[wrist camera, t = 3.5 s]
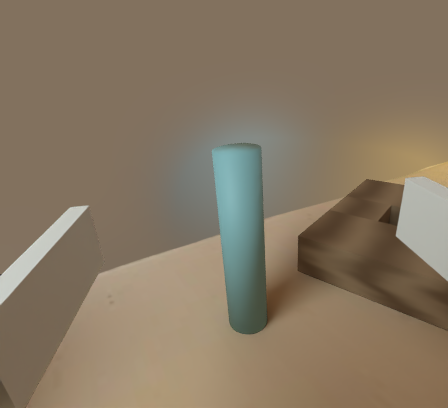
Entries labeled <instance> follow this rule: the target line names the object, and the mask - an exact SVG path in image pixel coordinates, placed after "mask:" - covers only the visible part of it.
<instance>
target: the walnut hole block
mask: <svg viewBox="0 0 448 408" xmlns="http://www.w3.org/2000/svg"><path fill="white" fill-rule="evenodd" d="M403 191H404V185H400V184H394V183H388V182H381V181H375V180H369V179H366V180H365V181H364V182H363V183H362V184H360V185H359V186H358V187H357V188H356V189H354V190H353V191H352V192H351V193H350V194H348V195H347V196H346V197H345V198H343V199H342V200H341V201H340V202H339V203H337V204H336V205H335V206H334V207H333V208H331V209H330V210H329V211H328V212H327V213H325V214H324V215H323V216H322V217H320V218H319V219H318V220H317V221H316V222H314V223H313V224H312V225H311V226H310V227H308V228H307V229H306V230H305V231H304V232H302V233H301V234H300V235H299V236H298V271H300V272H302V273H305V274H307V275H310V276H312V277H315V278H317V279H320V280H322V281H325V282H327V283H330V284H332V285H335V286H337V287H340V288H342V289H345V290H347V291H350V292H352V293H355V294H357V295H360V296H362V297H365V298H367V299H370V300H372V301H375V302H377V303H380V304H382V305H385V306H387V307H390V308H392V309H395V310H397V311H400V312H402V313H405V314H407V315H410V316H412V317H415V318H418V319H420V320H423V321H425V322H428V323H430V324H433V325H435V326H438V327H440V328H443V329H445V330H448V281H447V280H446V279H445V278H443V277H442V276H441V275H440V274H439V273H438V272H436V271H435V270H434V269H433V268H432V267H431V266H430V265H428V264H427V263H426V262H425V261H424V260H423V259H422V258H420V257H419V256H418V255H417V254H416V253H415V252H414V251H412V250H411V249H410V248H409V247H408V246H407V245H406V244H404V243H403V242H402V241H401V240H400V239H399V238H397V237H396V231H397V226H398V220H399V214H400V208H401V203H402V197H403Z"/></svg>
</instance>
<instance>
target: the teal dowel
mask: <svg viewBox="0 0 448 408" xmlns="http://www.w3.org/2000/svg"><path fill="white" fill-rule="evenodd" d="M212 156H213V166H214V175H215V185H216V195H217V205H218V215H219V225H220V235H221V244H222V254H223V264H224V274H225V284H226V293H227V303H228V313H229V322H230V325H231V327H232V328H233V329H234V330H235V331H237V332H239V333H242V334H254V333H257V332H259V331H261V330H262V329H263V328H264V327H265V326H266V324H267V299H266V271H265V242H264V217H263V216H264V214H263V186H262V157H261V147H260V146H259V145H256V144H249V143H237V144H228V145H223V146H220V147H217V148H215V149H213V150H212Z"/></svg>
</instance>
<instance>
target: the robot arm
mask: <svg viewBox="0 0 448 408" xmlns="http://www.w3.org/2000/svg"><path fill="white" fill-rule="evenodd" d="M396 237H397V238H399V239H400V240H401V241H402V242H403V243H404V244H406V245H407V246H408V247H409V248H410V249H411V250H412V251H414V252H415V253H416V254H417V255H418V256H419V257H420V258H422V259H423V260H424V261H425V262H426V263H427V264H428V265H430V266H431V267H432V268H433V269H434V270H435V271H436V272H438V273H439V274H440V275H441V276H442V277H443V278H445V279H446V280H447V281H448V188H447V187H445V186H442V185H440V184H438V183H436V182H434V181H432V180H430V179H428V178H426V177H413V178H406V180H405V185H404V191H403V197H402V203H401V208H400V214H399V220H398V226H397V231H396ZM104 262H105V261H104V258H103V254H102V251H101V247H100V243H99V240H98V236H97V232H96V229H95V225H94V222H93V218H92V214H91V211H90V207H89V206H80V207H70V208H69V209H68V210H67V211H66V212H65V213H64V214H63V215H62V216H61V217H60V218H59V219H58V220H57V221H56V222H55V223H54V224H53V225H52V226H51V227H50V228H49V229H48V230H47V231H46V232H45V233H44V234H43V235H42V236H41V237H40V238H39V239H38V240H37V241H36V242H34V244H32V245H31V246H30V247H29V248H28V249H27V250H26V251H25V252H24V253H23V254H22V255H21V256H20V257H19V258H18V259H17V260H16V261H15V262H14V263H13V264H12V265H11V266H10V267H9V268H8V269H7V270H6V271H5V272H4V273H3V274H0V408H26V406H27V404H28V402H29V400H30V398H31V397H32V395H33V393H34V391H35V389H36V387H37V386H38V384H39V382H40V380H41V378H42V376H43V374H44V373H45V371H46V369H47V367H48V365H49V363H50V362H51V360H52V358H53V356H54V354H55V352H56V351H57V349H58V347H59V345H60V343H61V341H62V340H63V338H64V336H65V334H66V332H67V330H68V329H69V327H70V325H71V323H72V321H73V319H74V318H75V316H76V314H77V312H78V310H79V308H80V306H81V305H82V303H83V301H84V299H85V297H86V295H87V294H88V292H89V290H90V288H91V286H92V284H93V283H94V281H95V279H96V277H97V275H98V273H99V272H100V270H101V268H102V266H103V264H104Z"/></svg>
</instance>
